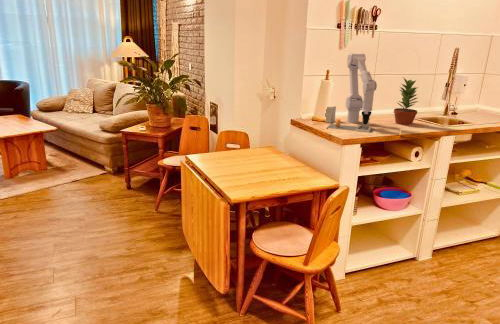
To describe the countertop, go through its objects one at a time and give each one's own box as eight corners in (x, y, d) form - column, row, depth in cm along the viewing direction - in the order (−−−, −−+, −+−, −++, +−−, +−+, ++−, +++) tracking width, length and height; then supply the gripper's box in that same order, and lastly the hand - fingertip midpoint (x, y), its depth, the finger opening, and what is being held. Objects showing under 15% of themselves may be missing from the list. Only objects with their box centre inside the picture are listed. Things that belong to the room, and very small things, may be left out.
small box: (334, 121, 256) (336, 106, 253) (330, 123, 252) (331, 107, 249) (324, 120, 261) (325, 104, 258) (320, 121, 257) (321, 105, 254)
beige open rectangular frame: (358, 126, 239) (359, 116, 237) (371, 128, 236) (373, 118, 234) (355, 130, 228) (356, 120, 226) (369, 132, 225) (370, 121, 223)
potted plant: (418, 126, 248) (426, 78, 239) (393, 125, 251) (400, 77, 241) (414, 121, 262) (421, 76, 252) (390, 120, 265) (396, 75, 255)
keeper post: (336, 126, 239) (336, 119, 237) (340, 126, 238) (340, 119, 237) (335, 127, 237) (336, 119, 235) (339, 127, 236) (339, 120, 234)
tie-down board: (330, 125, 245) (330, 123, 245) (375, 130, 235) (375, 128, 235) (326, 129, 234) (326, 127, 234) (372, 134, 224) (372, 132, 224)
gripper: (361, 99, 239) (359, 121, 244) (360, 102, 226) (357, 125, 230) (373, 100, 237) (370, 121, 241) (372, 103, 224) (370, 126, 228)
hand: (365, 123), depth 236 cm, fingers closed on beige open rectangular frame, 2 cm apart
